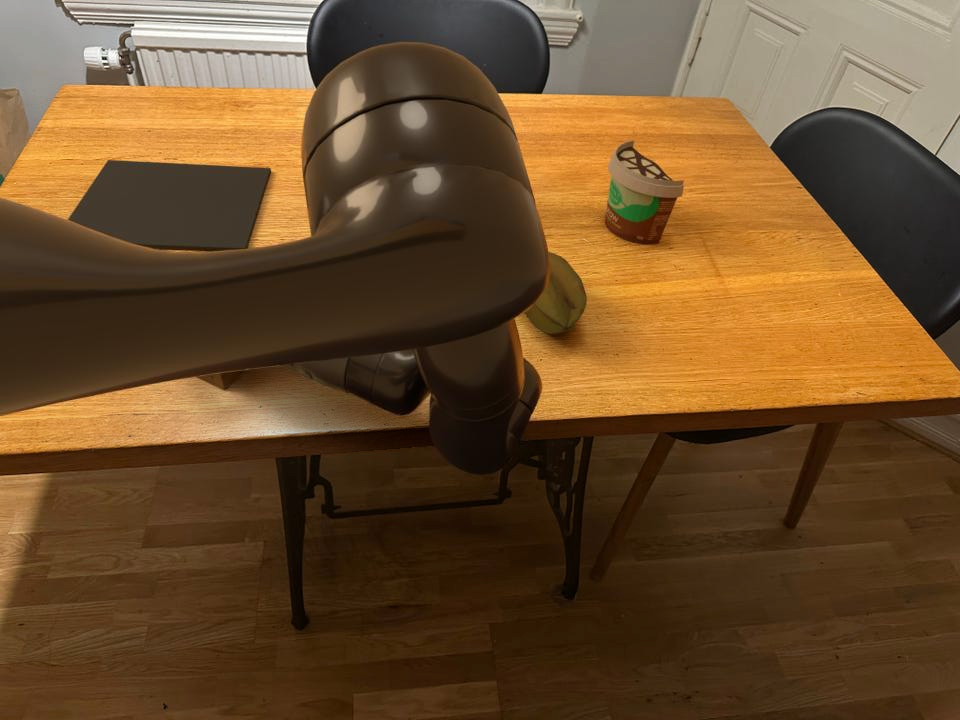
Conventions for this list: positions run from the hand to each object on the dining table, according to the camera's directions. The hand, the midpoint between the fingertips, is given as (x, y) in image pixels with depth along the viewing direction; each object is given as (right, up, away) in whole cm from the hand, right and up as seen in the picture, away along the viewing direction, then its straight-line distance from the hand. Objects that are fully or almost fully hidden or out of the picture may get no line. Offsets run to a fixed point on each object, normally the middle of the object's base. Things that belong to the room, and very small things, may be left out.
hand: (179, 279), depth 67 cm
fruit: (+36, -3, +14) cm, 39 cm away
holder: (+1, -6, +5) cm, 8 cm away
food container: (+49, +10, +29) cm, 58 cm away
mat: (-11, +12, +24) cm, 29 cm away
